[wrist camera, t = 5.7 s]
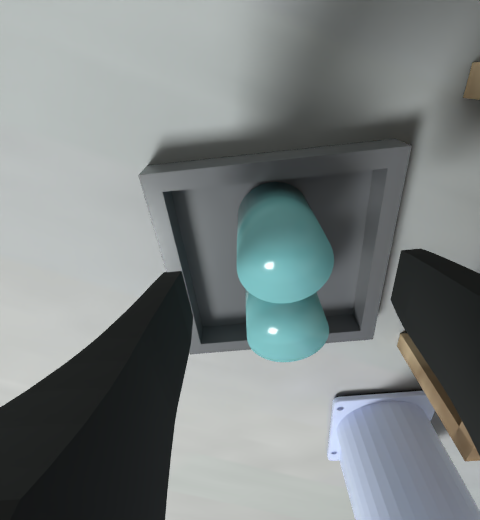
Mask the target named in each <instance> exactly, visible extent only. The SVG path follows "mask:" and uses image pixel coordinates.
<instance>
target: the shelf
mask: <svg viewBox="0 0 480 520" xmlns="http://www.w3.org/2000/svg"><path fill="white" fill-rule="evenodd" d="M463 98H469V99H477V100H480V62H473V63H472V66H471V70H470V74H469V77H468V81H467V85H466V89H465V92H464V96H463ZM397 347H398V348H399V350H400V352H401V354H402V355H403V357H404V359H405V360H406V362H407V364H408V365H409V367H410V369H411V370H412V372H413V374H414V376H415V377H416V379H417V381H418V382H419V384H420V386H421V387H422V389H423V391H424V392H425V394H426V396H427V398H428V399H429V401H430V403H431V404H432V406H433V408H434V409H435V411H436V413H437V415H438V416H439V418H440V420H441V421H442V423H443V425H444V426H445V428H446V430H447V431H448V433H449V435H450V437H451V438H452V440H453V442H454V443H455V445H456V447H457V448H458V450H459V452H460V453H461V455H462V457H463V459H464V460H465V461H478V460H480V456H479V454H478V452H477V450H476V447H475V445H474V443H473V441H472V439H471V437H470V435H469V433H468V431H467V430H466V428H465V426H464V424H463V422H462V420H461V418H460V416H459V414H458V412H457V411H456V409H455V407H454V405H453V403H452V401H451V400H450V398H449V396H448V395H447V393H446V391H445V390H444V388H443V386H442V385H441V383H440V382H439V380H438V379H437V377H436V376H435V374H434V373H433V371H432V370H431V368H430V367H429V365H428V364H427V362H426V361H425V359H424V358H423V356H422V355H421V353H420V352H419V350H418V349H417V347H416V346H415V344H414V342H413V341H412V339H411V338H410V336H409V335H408V333H400V337H399V341H398V344H397Z"/></svg>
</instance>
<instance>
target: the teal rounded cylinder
mask: <svg viewBox="0 0 480 520" xmlns="http://www.w3.org/2000/svg"><path fill="white" fill-rule="evenodd" d="M245 300H246V327H247V341H248V344H249V346H250V347H251V349H252V350H253V351H254V352H255V353H256V354H257V355H259V356H261V357H263V358H265V359H268V360H271V361H276V362H292V361H297V360H301V359H304V358H307V357H309V356H311V355H313V354H314V353H316V352H317V351H318V350H319V349H321V347H322V346H323V345H324V344H325V342H326V341H327V338H328V335H329V326H328V322H327V319H326V317H325V314H324V311H323V308H322V306H321V303H320V300H319V297H318V294H317V292H316V293H314V294H313V295H311V296H309V297H307V298H305V299H302V300H300V301H296V302H292V303H271V302H267V301H263V300H261V299H259V298H257V297H255V296H253V295H252V294H250V293H249V292H248V291H247V290H246V289H245Z"/></svg>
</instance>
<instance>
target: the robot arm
mask: <svg viewBox="0 0 480 520" xmlns="http://www.w3.org/2000/svg"><path fill="white" fill-rule="evenodd" d="M391 301H392V304H393V306H394V308H395V310H396V313H397V315H398V317H399V319H400V321H401V323H402V325H403V327H404V328H405V330H406V332H407V333H408V335H409V336H410V338H411V339H412V341H413V342H414V344H415V346H416V347H417V349H418V350H419V352H420V353H421V355H422V356H423V358H424V359H425V361H426V362H427V364H428V365H429V367H430V368H431V370H432V371H433V373H434V374H435V376H436V377H437V379H438V380H439V382H440V383H441V385H442V386H443V388H444V390H445V391H446V393H447V395H448V396H449V398H450V400H451V401H452V403H453V405H454V407H455V409H456V411H457V412H458V414H459V416H460V418H461V420H462V422H463V424H464V426H465V428H466V430H467V431H468V433H469V435H470V437H471V439H472V441H473V443H474V445H475V447H476V450H477V452H478V454H479V456H480V274H479V273H477V272H475V271H473V270H470V269H468V268H466V267H464V266H461V265H459V264H457V263H455V262H452V261H450V260H448V259H446V258H443V257H441V256H439V255H436V254H434V253H431V252H429V251H426V250H423V249H412V250H402V251H401V254H400V259H399V264H398V268H397V273H396V277H395V282H394V287H393V291H392V296H391ZM192 327H193V313H192V309H191V305H190V302H189V298H188V294H187V290H186V286H185V282H184V278H183V274H182V271H175V272H164V273H163V274H162V275H161V276H160V277H159V278H158V279H157V280H156V281H155V282H154V283H153V284H152V285H151V286H150V287H149V288H148V289H147V290H146V291H145V293H144V294H143V295H142V296H141V297H140V298H139V299H138V300H137V301H136V302H135V303H134V304H133V305H132V306H131V307H130V308H129V309H128V310H127V311H126V312H125V313H124V314H123V315H122V316H121V317H120V318H118V319H117V320H116V321H115V322H114V323H113V324H112V325H111V326H110V327H109V328H108V329H107V330H106V331H105V332H103V333H102V334H101V335H100V336H99V337H98V338H97V339H95V340H94V341H93V342H92V343H91V344H90V345H88V346H87V347H86V348H85V349H83V350H82V351H81V352H80V353H78V354H77V355H76V356H74V357H73V358H72V359H71V360H69V361H68V362H67V363H65V364H64V365H63V366H61V367H60V368H58V369H57V370H55V371H54V372H53V373H51V374H50V375H48V376H47V377H46V378H44V379H43V380H41V381H40V382H38V383H37V384H36V385H34V386H33V387H31V388H30V389H28V390H27V391H25V392H24V393H22V394H21V395H19V396H18V397H16V398H14V399H13V400H11V401H10V402H8V403H7V404H5V405H3V406H2V407H0V520H165V512H166V500H167V489H168V479H169V469H170V459H171V450H172V442H173V433H174V425H175V418H176V412H177V406H178V402H179V397H180V392H181V388H182V383H183V379H184V374H185V369H186V365H187V360H188V355H189V351H190V346H191V338H192ZM434 412H435V409H434V408H433V406H432V404H431V403H430V401H429V399H428V398H427V396H426V394H425V392H424V391H411V392H397V393H384V394H370V395H356V396H343V397H337V398H335V399H334V400H333V406H332V415H331V424H330V433H329V442H328V451H327V456H328V459H329V460H331V461H336V460H340V464H341V468H342V472H343V475H344V479H345V483H346V486H347V490H348V494H349V498H350V501H351V505H352V509H353V513H354V516H355V520H480V510H479V509H478V507H477V505H476V503H475V501H474V500H473V498H472V496H471V494H470V492H469V491H468V489H467V487H466V485H465V483H464V482H463V480H462V478H461V476H460V474H459V473H458V471H457V469H456V467H455V465H454V464H453V462H452V460H451V458H450V456H449V455H448V453H447V451H446V449H445V447H444V446H443V444H442V442H441V440H440V439H439V437H438V435H437V433H436V431H435V430H434V428H433V426H432V424H431V422H430V421H431V419H432V417H433V415H434Z"/></svg>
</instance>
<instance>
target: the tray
mask: <svg viewBox="0 0 480 520" xmlns="http://www.w3.org/2000/svg"><path fill="white" fill-rule="evenodd" d="M411 148H412V146H411V145H409V144H407V143H404V142H402V141H399V140H397V139H388V140H379V141H370V142H360V143H351V144H342V145H333V146H323V147H314V148H305V149H296V150H286V151H277V152H268V153H258V154H249V155H240V156H231V157H221V158H212V159H203V160H194V161H184V162H175V163H166V164H157V165H147V167H146V168H145V169H144V170H143V171H142V172H141V173H140V174H139V179H140V182H141V186H142V189H143V193H144V196H145V200H146V203H147V207H148V210H149V214H150V217H151V221H152V224H153V228H154V231H155V234H156V238H157V241H158V245H159V248H160V252H161V255H162V259H163V262H164V266H165V269H166V272H175V271H182V274H183V278H184V282H185V286H186V290H187V294H188V298H189V302H190V305H191V309H192V313H193V327H192V338H191V346H190V351H189V353H190V354H200V353H212V352H224V351H236V350H248V349H251V347H250V346H249V344H248V341H247V327H246V300H245V288H244V286H243V285H242V283H241V282H240V280H239V277H238V274H237V215H238V209H239V206H240V204H241V202H242V200H243V199H244V197H245V196H246V195H247V194H248V193H249V192H250V191H251V190H252V189H254V188H255V187H257V186H259V185H262V184H265V183H269V182H283V183H287V184H290V185H292V186H294V187H296V188H297V189H298V190H300V191H301V192H302V193H303V195H304V196H305V198H306V199H307V201H308V203H309V205H310V207H311V209H312V211H313V212H314V214H315V216H316V218H317V220H318V222H319V224H320V226H321V228H322V229H323V231H324V233H325V235H326V237H327V239H328V241H329V243H330V245H331V247H332V250H333V254H334V266H333V269H332V272H331V275H330V277H329V279H328V280H327V282H326V283H325V284H324V285H323V286H322V287H321V288H320V289H319V290H318V291H317V294H318V297H319V300H320V303H321V306H322V308H323V311H324V314H325V317H326V319H327V322H328V326H329V335H328V338H327V341H326V342H325V343H333V342H345V341H357V340H369V339H373V336H374V331H375V326H376V321H377V316H378V311H379V306H380V301H381V296H382V291H383V286H384V281H385V276H386V271H387V266H388V261H389V256H390V252H391V247H392V242H393V237H394V232H395V227H396V222H397V217H398V212H399V207H400V202H401V197H402V192H403V187H404V182H405V177H406V172H407V167H408V162H409V158H410V153H411Z"/></svg>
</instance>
